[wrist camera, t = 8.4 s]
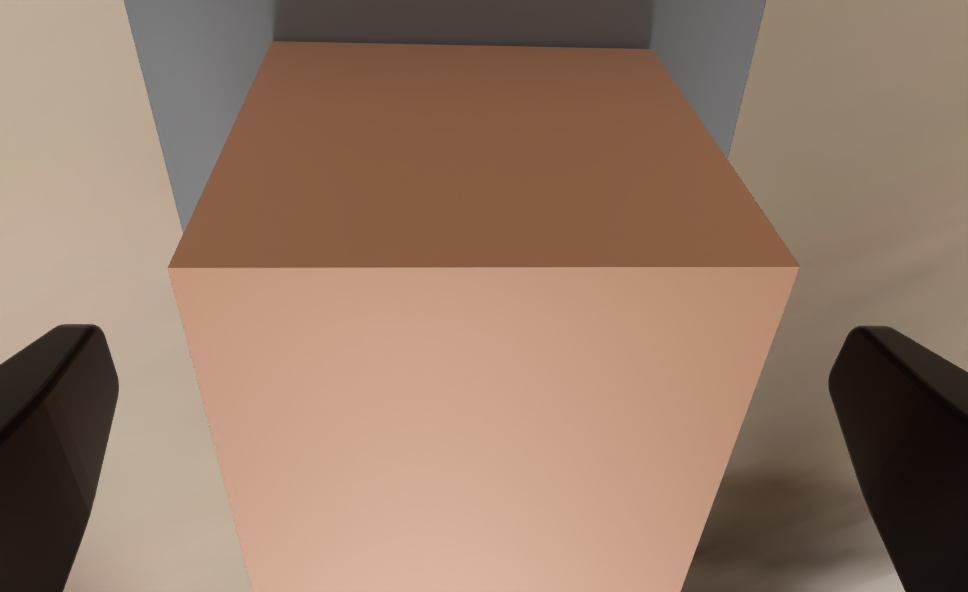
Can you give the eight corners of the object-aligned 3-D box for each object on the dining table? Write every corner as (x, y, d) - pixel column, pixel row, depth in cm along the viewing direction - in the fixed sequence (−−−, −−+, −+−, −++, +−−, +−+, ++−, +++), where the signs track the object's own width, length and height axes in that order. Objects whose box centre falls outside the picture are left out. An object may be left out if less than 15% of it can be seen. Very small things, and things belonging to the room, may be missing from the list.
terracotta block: (652, 49, 11) (800, 266, 7) (600, 333, 14) (677, 600, 10) (272, 41, 11) (167, 267, 6) (309, 336, 14) (258, 615, 10)
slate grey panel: (723, -160, 12) (798, -131, 10) (640, 285, 18) (675, 373, 15) (153, -172, 12) (87, -144, 9) (249, 295, 17) (222, 388, 15)
